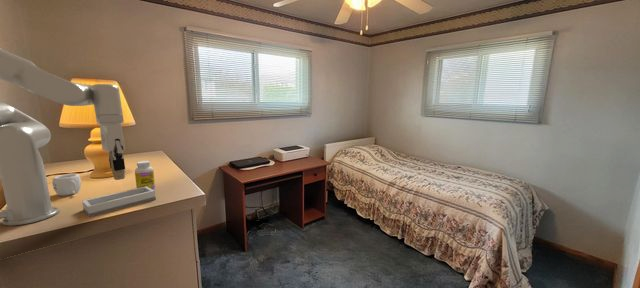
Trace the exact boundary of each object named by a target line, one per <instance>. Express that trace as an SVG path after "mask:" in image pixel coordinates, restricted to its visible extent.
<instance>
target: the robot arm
mask: <svg viewBox="0 0 640 288" xmlns="http://www.w3.org/2000/svg"><path fill="white" fill-rule="evenodd" d="M0 80H3V81H5V82H7V83H10V84H13V85H15V86H17V87H19V88H21V89H24V90H25V91H28V92H30V93H32V94H35V95H37V96H40V97H43V98H45V99H47V100H50V101H53V102H56V103H57V104H62V105H65V106H69V107H82V106H83V107H84V106H85V107H86V106H93V108H94V113H95V119H96V124H97V125H99V130H100V132H99V133H100V141H101V149H102V150H103V151H105V152H107V153H108V154H107V155H108V161H109V162H108V163H109V166H110V167H109V168H110V169H111V161H110V152H111V151H112V154H113V159H114V160H113V166H114V170H115V171H118V170H123V169H125V170H126V164H125V158H124V150H125V149H126V144H125V138H124V137H125V136H124V131H123V127H122V124H125V120H124V116H123V115H124V114H123V108H122V101H121V100H122V99H121V93H120V89H119V86H117V85H116V84H111V83H110V84H109V83H108V84H107V83H99V84H98V83H96V84H93V85H92V84H91V85H90V84H83V83H79V82H72V81H70V80H67V79H65V78H63V77H59V76H58V75H55V74H53V73H49V72H48V71H46V70H44V69H42V68H40V67H38V66H37V65H36V64H35V63H34V62H32V61H31V60H28V59H27V58H24V57H22V56H19V55H17V54H15V53H11V52H9V51H7V50H5V49H2V48H1V47H0ZM51 138H52V132H51V131H50V129H49V128H48V127H47V126H46V125H44V124H43V123H42V122H41V121H38V120H37V119H35V118H33V117H31V116H29V115H28V114H26V113H24V112H22V111H21V110H19V109H17V108H16V107H13V106H12V105H11V104H8V103H5V102H2V101H0V179H1V185H2V188H3V194H4V199H5V203H6V206H5V209H2V210H0V220H1V219H2V221H1V223H2V225H4V226H11V227H12V226H21V225H27V224H31V223H35V222H36V223H37V222H40V221H43V220H46V219H49V218H52V217H53V216H55V215H57V214H58V213H59V212H60V210H59V209H60V208H59V207H57V206H52V201H51V197H50V196H51V195H50V189H49V186H48V178H47V174H46V170H45V169H46V168H45V165H44V160H43V158H42V156H41V153H40V151H39V148H42V147H45V146H46V145H47V144H48V143H49V142H50V140H51ZM114 149H117V151H114ZM115 153H116V154H115Z"/></svg>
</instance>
